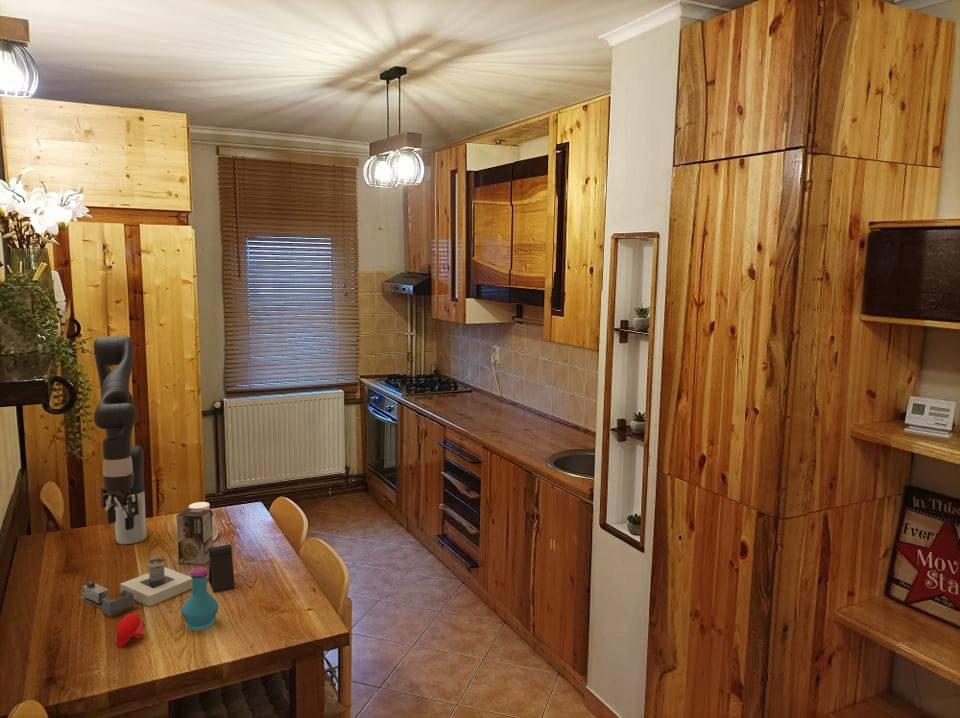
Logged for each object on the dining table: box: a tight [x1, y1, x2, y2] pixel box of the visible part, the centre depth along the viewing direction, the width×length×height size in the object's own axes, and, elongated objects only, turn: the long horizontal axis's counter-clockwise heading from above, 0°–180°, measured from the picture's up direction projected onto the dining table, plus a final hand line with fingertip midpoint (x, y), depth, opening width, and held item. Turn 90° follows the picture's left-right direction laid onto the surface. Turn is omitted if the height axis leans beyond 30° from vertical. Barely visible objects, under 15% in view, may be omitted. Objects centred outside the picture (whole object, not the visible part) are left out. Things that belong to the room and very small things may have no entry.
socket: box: [119, 566, 192, 607], centre depth 201 cm, size 14×14×3 cm
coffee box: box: [175, 508, 214, 565], centre depth 223 cm, size 9×6×16 cm
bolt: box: [82, 579, 110, 604], centre depth 195 cm, size 8×3×4 cm, turn 58°
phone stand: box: [207, 544, 236, 593], centre depth 206 cm, size 9×6×12 cm, turn 30°
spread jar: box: [188, 501, 219, 541], centre depth 241 cm, size 12×11×12 cm
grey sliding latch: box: [78, 590, 135, 618], centre depth 193 cm, size 18×7×4 cm, turn 58°
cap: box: [115, 612, 145, 648], centre depth 174 cm, size 8×6×6 cm
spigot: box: [147, 557, 166, 588], centre depth 201 cm, size 5×5×9 cm
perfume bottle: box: [181, 567, 220, 631], centre depth 182 cm, size 9×9×15 cm
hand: (120, 525), depth 199 cm, fingers open, 8 cm apart
